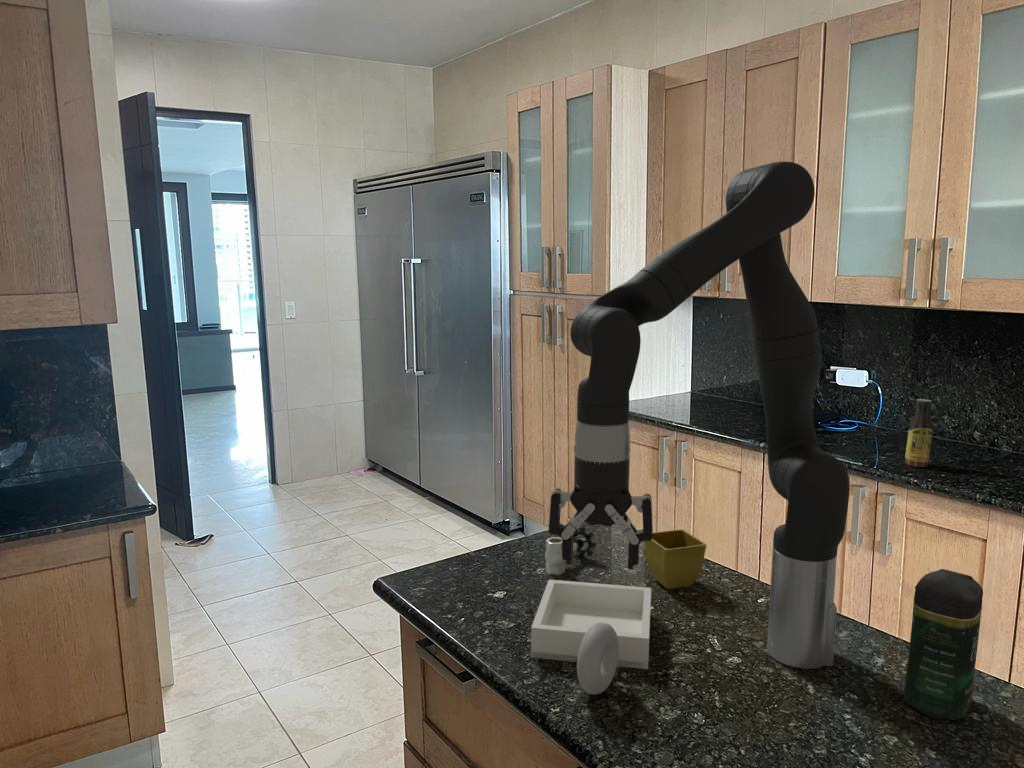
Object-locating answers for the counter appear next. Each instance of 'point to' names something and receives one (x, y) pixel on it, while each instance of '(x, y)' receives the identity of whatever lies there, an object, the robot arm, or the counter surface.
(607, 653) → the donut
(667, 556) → the flower pot
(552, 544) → the valve
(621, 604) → the tray
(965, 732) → the counter surface
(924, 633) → the coffee jar
